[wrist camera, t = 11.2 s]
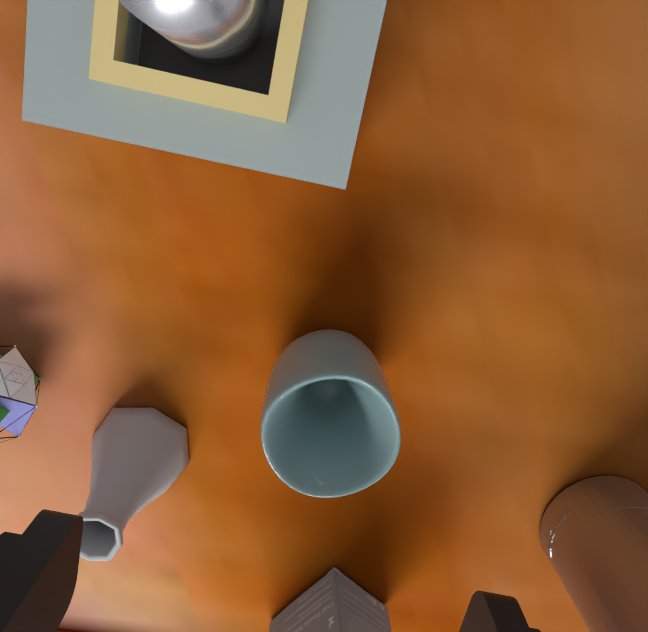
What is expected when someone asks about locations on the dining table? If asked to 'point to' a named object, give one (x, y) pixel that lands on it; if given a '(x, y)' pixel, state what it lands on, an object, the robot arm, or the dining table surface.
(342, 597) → the skincare box
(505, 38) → the dining table surface
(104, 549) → the flask
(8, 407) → the geometric puzzle
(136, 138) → the box with square opening
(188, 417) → the dining table surface
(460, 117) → the dining table surface
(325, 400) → the cup
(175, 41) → the spout can
